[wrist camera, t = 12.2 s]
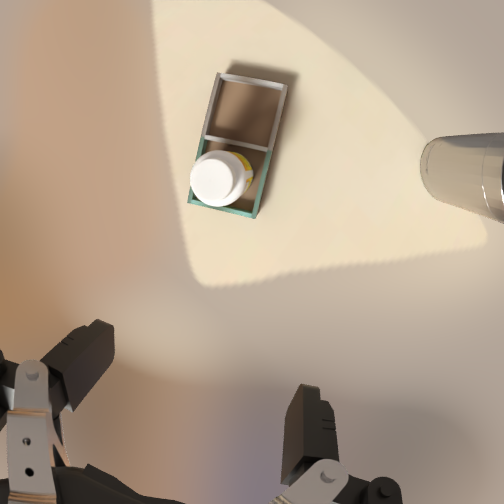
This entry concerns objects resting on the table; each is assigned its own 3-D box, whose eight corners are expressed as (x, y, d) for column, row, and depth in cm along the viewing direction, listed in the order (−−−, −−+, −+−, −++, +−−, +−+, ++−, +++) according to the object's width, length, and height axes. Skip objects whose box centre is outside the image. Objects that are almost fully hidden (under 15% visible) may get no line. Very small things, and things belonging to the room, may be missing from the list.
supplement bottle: (209, 152, 34) (181, 150, 25) (254, 152, 34) (242, 148, 24) (209, 197, 36) (182, 210, 26) (253, 197, 35) (242, 211, 26)
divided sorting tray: (287, 90, 32) (287, 85, 29) (257, 214, 37) (255, 219, 35) (221, 78, 32) (216, 72, 30) (193, 199, 38) (187, 202, 35)
